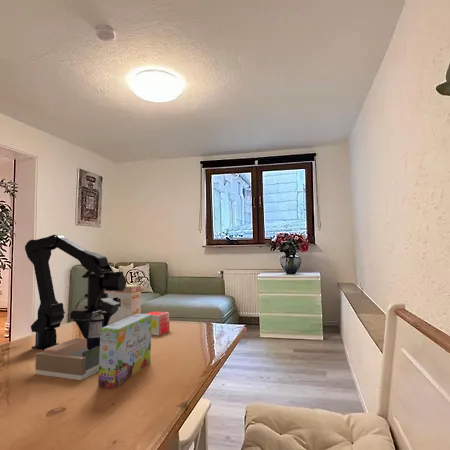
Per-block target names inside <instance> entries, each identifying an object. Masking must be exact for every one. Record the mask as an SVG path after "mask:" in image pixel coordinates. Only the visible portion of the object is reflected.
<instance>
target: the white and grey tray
mask: <svg viewBox="0 0 450 450" xmlns="http://www.w3.org/2000/svg"><path fill="white" fill-rule="evenodd" d="M96 373H99V364H98V365H96V366H94V367H92V368H90V369H88V370H86V357H80V356H71V355H62V354H53V353H44V352H43V351H42V352H41V351H40V352H37V353H35V375H40V376H41V375H42V376H47V377H56V378H63V379H69V380H76V381H83V380H85V379H87V378H88V377H91V376H92V375H94V374H96Z"/></svg>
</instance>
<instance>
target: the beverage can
mask: <svg viewBox="0 0 450 450" xmlns="http://www.w3.org/2000/svg"><path fill="white" fill-rule="evenodd" d="M90 319H93V320H92V321H91V322H90V323H89V334H88V339H87V350H90V349H92V348H95V347H97V346H99V345H100V331H101V328H103V327H104V317H103V314H98V313H95V314H93V315H92V317H91V318H90Z"/></svg>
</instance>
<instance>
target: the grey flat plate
mask: <svg viewBox="0 0 450 450" xmlns="http://www.w3.org/2000/svg"><path fill="white" fill-rule="evenodd" d="M99 356H100V345H99V346H97V347H95V348H92V349H90V350H87V351H85V352H83V353H82V357H86V370H88V369H90V368H92V367H94V366H96V365H98V364H99Z"/></svg>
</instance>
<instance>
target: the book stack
mask: <svg viewBox="0 0 450 450" xmlns="http://www.w3.org/2000/svg"><path fill="white" fill-rule="evenodd" d="M43 351H44V353H53V354H62V355H71V356H80V357H82V353H83V352H85V351H87V339H85V338H72V339H70V340H67V341H64V342H60V343H59V344H58V345H55V346H52V347H50V348H47V349H43Z"/></svg>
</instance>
